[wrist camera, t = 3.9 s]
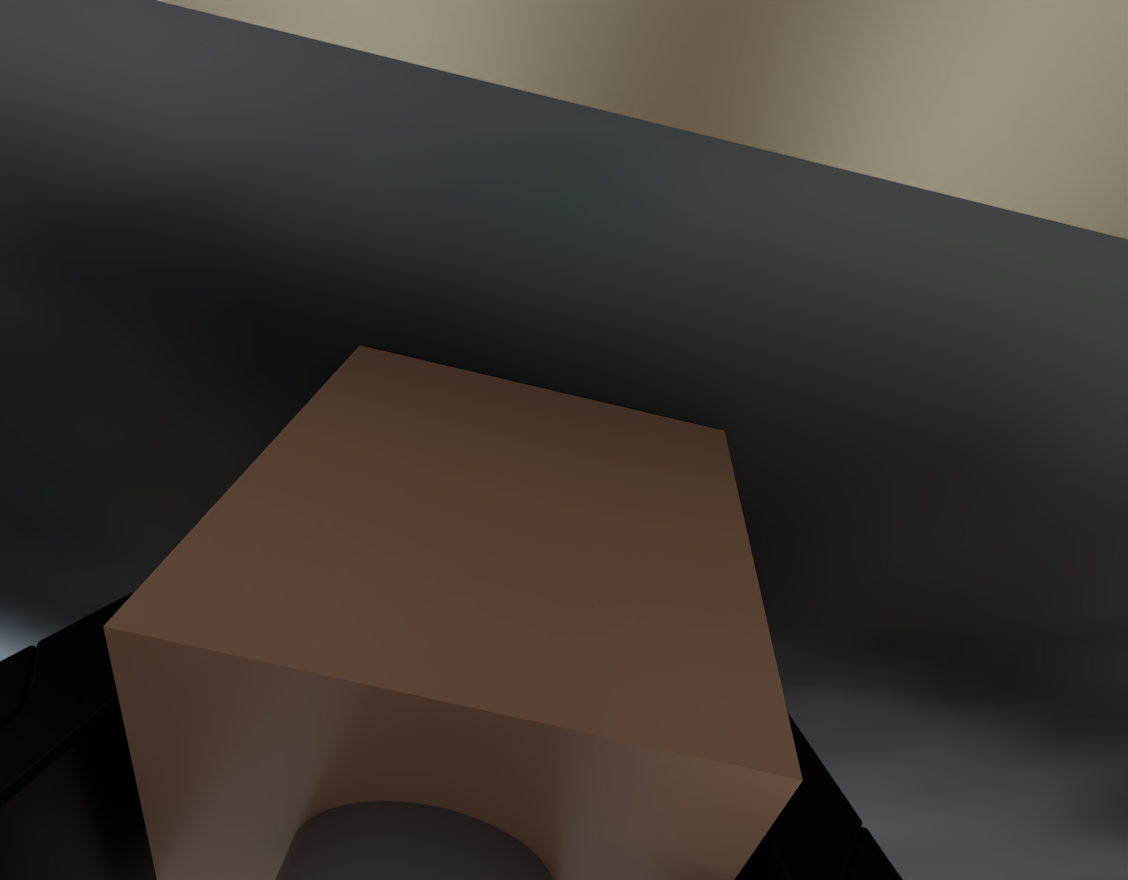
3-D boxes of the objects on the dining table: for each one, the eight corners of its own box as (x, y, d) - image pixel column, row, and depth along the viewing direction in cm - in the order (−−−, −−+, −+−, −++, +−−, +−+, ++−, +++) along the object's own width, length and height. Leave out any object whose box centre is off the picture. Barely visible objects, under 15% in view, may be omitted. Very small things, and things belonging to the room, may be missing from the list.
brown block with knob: (344, 609, 11) (62, 1158, 6) (359, 345, 9) (-123, 872, 3) (628, 673, 12) (620, 1269, 6) (724, 431, 9) (870, 1078, 3)
